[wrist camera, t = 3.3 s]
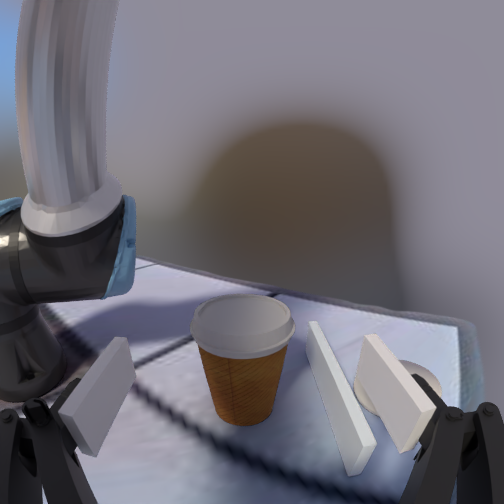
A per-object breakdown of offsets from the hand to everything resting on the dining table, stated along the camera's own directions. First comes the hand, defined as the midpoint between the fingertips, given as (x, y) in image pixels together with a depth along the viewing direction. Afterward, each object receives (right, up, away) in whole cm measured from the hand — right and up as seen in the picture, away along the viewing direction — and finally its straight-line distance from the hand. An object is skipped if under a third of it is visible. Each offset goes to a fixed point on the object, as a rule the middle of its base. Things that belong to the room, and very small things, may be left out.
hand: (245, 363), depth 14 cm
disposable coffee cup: (-1, -11, +13) cm, 17 cm away
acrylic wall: (+9, -11, +13) cm, 20 cm away
